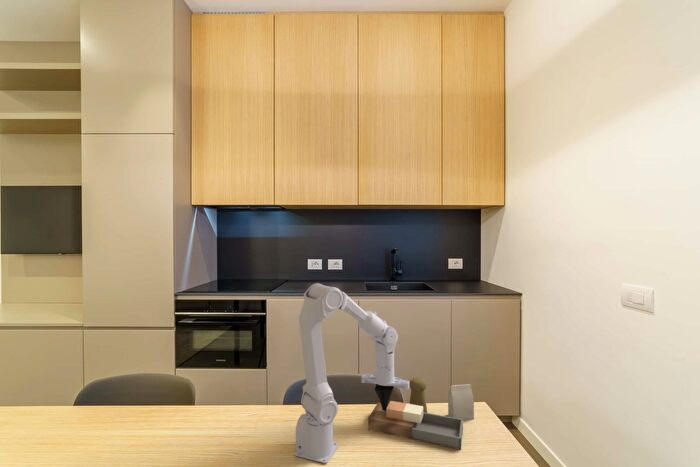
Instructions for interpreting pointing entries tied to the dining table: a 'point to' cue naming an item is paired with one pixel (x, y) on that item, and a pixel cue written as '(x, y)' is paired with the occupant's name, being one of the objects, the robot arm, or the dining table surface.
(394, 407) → the terracotta tile
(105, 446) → the dining table surface
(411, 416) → the cream ceramic tile
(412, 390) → the olive pepper mill
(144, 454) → the dining table surface
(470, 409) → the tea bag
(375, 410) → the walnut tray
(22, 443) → the dining table surface
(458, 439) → the tray
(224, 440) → the dining table surface
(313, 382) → the robot arm
